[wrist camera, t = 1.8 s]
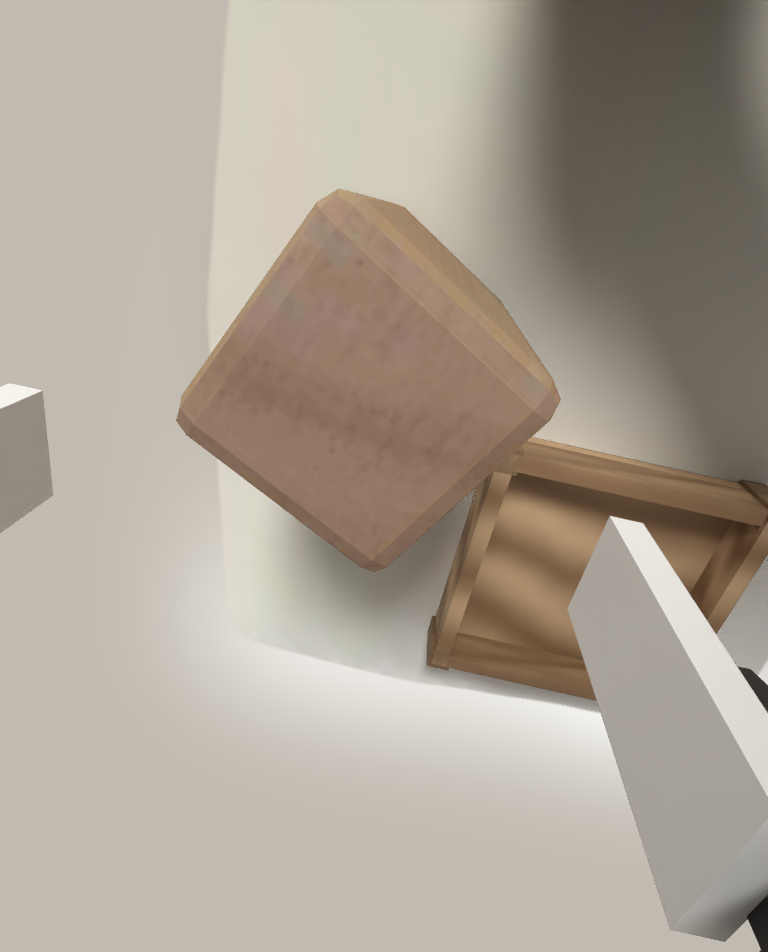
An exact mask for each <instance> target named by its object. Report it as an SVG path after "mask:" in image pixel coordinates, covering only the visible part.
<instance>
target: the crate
mask: <svg viewBox="0 0 768 952" xmlns="http://www.w3.org/2000/svg"><path fill="white" fill-rule="evenodd" d="M610 516H613V517H617V518H622V519H626V520H631V521H635V522H640V523H643V524H644V526H645V527H646V529H647V530H648V532H649V533H650V535H651V536H652V538H653V539H654V541H655V542H656V544H657V545H658V547H659V548H660V550H661V551H662V553H663V554H664V556H665V558H666V559H667V561H668V562H669V564H670V565H671V567H672V568H673V570H674V571H675V573H676V574H677V576H678V577H679V579H680V580H681V582H682V583H683V585H684V586H685V588H686V589H687V591H688V593H689V594H690V596H691V597H692V599H693V600H694V602H695V603H696V605H697V606H698V608H699V609H700V611H701V612H702V614H703V615H704V617H705V618H706V620H707V621H708V623H709V624H710V626H711V628H712V629H713V631H714V632H715V634H717V632H718V631H719V629H720V628H721V626H722V624H723V623H724V621H725V620H726V618H727V617H728V615H729V614H730V612H731V611H732V609H733V607H734V606H735V604H736V603H737V601H738V600H739V598H740V597H741V595H742V593H743V592H744V590H745V589H746V587H747V586H748V584H749V583H750V581H751V580H752V578H753V576H754V575H755V573H756V572H757V570H758V569H759V567H760V566H761V564H762V562H763V561H764V559H765V558H766V556H767V555H768V487H767V486H766V485H763V484H758V483H754V482H749V481H745V480H741V481H740V483H736V482H731V481H727V480H722V479H718V478H713V477H709V476H704V475H700V474H695V473H691V472H686V471H682V470H677V469H673V468H668V467H664V466H659V465H655V464H650V463H646V462H641V461H637V460H632V459H628V458H623V457H619V456H614V455H610V454H605V453H601V452H596V451H592V450H587V449H583V448H578V447H574V446H569V445H565V444H560V443H556V442H551V441H547V440H542V439H538V438H533V437H531V438H530V439H529V440H528V441H526V442H525V443H524V444H523V445H522V446H521V447H520V448H519V449H518V450H516V451H515V452H514V453H513V454H512V455H511V456H510V457H509V458H508V459H506V460H505V461H504V462H503V463H502V464H501V465H500V466H499V467H498V468H496V469H495V470H494V471H493V472H492V473H491V474H490V475H489V476H488V477H486V478H485V479H484V480H483V481H482V482H481V483H480V484H479V485H478V486H477V489H476V492H475V495H474V498H473V501H472V504H471V508H470V511H469V514H468V517H467V520H466V523H465V527H464V530H463V533H462V536H461V539H460V542H459V546H458V549H457V552H456V555H455V558H454V561H453V565H452V568H451V571H450V574H449V577H448V580H447V584H446V587H445V590H444V593H443V596H442V600H441V603H440V606H439V609H438V612H437V615H436V616H433V617H432V620H431V623H430V626H429V629H428V644H427V666H432V667H436V668H441V669H445V670H448V669H449V668H453V669H458V670H462V671H466V672H471V673H475V674H480V675H484V676H489V677H493V678H498V679H502V680H507V681H511V682H516V683H520V684H525V685H529V686H533V687H538V688H542V689H547V690H551V691H556V692H560V693H565V694H569V695H574V696H578V697H583V698H587V699H592V700H596V697H595V694H594V690H593V687H592V684H591V681H590V678H589V675H588V672H587V669H586V665H585V662H584V659H583V656H582V653H581V650H580V647H579V644H578V641H577V637H576V634H575V631H574V628H573V625H572V622H571V619H570V616H569V612H568V609H567V608H568V606H569V604H570V602H571V600H572V598H573V595H574V593H575V591H576V589H577V587H578V584H579V582H580V580H581V578H582V576H583V573H584V571H585V569H586V567H587V565H588V562H589V560H590V558H591V556H592V554H593V552H594V549H595V547H596V545H597V543H598V541H599V538H600V536H601V534H602V532H603V530H604V527H605V525H606V523H607V521H608V519H609V517H610ZM596 701H597V700H596Z"/></svg>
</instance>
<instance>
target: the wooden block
mask: <svg viewBox="0 0 768 952" xmlns="http://www.w3.org/2000/svg"><path fill="white" fill-rule="evenodd" d="M560 400H561V399H560V397H559V394H558V391H557V389H556V386H555V383H554V381H553V378H552V377H551V376H550V374H549V373H548V371H547V370H546V368H545V367H544V365H543V364H542V362H541V361H540V359H539V358H538V356H537V355H536V353H535V352H534V350H533V349H532V347H531V346H530V344H529V343H528V341H527V340H526V338H525V337H524V335H523V334H522V332H521V331H520V329H519V328H518V326H517V325H516V324H515V322H514V321H513V319H512V318H511V316H510V315H509V313H508V312H507V310H506V309H505V307H504V306H503V304H502V303H501V301H500V300H499V299H498V298H497V297H496V296H495V295H494V294H493V293H492V292H491V291H490V290H489V289H488V288H487V287H486V286H485V285H484V284H483V283H482V282H481V281H480V280H479V279H478V278H477V277H476V276H474V275H473V274H472V273H471V272H470V271H469V270H468V269H467V268H466V267H465V266H464V265H463V264H462V263H461V262H460V261H459V260H458V259H457V258H456V257H455V256H454V255H453V254H452V253H451V252H450V251H449V250H448V249H447V248H446V247H445V246H444V245H443V244H442V243H441V242H440V241H439V240H438V239H437V238H436V237H435V236H433V235H432V234H431V233H430V232H429V231H428V230H427V229H426V228H425V227H424V226H423V225H422V224H421V223H420V222H419V221H418V220H417V219H416V218H415V217H414V216H413V215H412V214H411V213H410V212H409V211H408V210H407V209H406V208H405V207H402V206H400V205H397V204H394V203H391V202H387V201H384V200H380V199H376V198H372V197H368V196H365V195H361V194H357V193H353V192H350V191H346V190H342V189H338V190H336V191H335V192H333V193H331V194H330V195H328V196H326V197H325V198H323V199H321V200H320V201H318V202H317V203H316V204H315V205H314V207H313V208H312V210H311V211H310V213H309V214H308V215H307V217H306V218H305V220H304V221H303V223H302V224H301V225H300V227H299V228H298V230H297V231H296V233H295V234H294V236H293V237H292V238H291V240H290V241H289V243H288V244H287V246H286V247H285V248H284V250H283V251H282V253H281V254H280V256H279V257H278V258H277V260H276V261H275V263H274V264H273V266H272V267H271V268H270V270H269V271H268V273H267V274H266V276H265V277H264V279H263V280H262V281H261V283H260V284H259V286H258V287H257V289H256V290H255V291H254V293H253V294H252V296H251V297H250V299H249V300H248V301H247V303H246V304H245V306H244V307H243V309H242V310H241V311H240V313H239V314H238V316H237V317H236V319H235V320H234V321H233V323H232V324H231V326H230V327H229V329H228V330H227V332H226V333H225V334H224V336H223V337H222V339H221V340H220V342H219V343H218V344H217V346H216V347H215V349H214V350H213V352H212V353H211V354H210V356H209V357H208V359H207V360H206V362H205V363H204V365H203V366H202V367H201V369H200V370H199V372H198V373H197V375H196V376H195V377H194V379H193V380H192V382H191V383H190V385H189V386H188V387H187V389H186V390H185V392H184V393H183V395H182V396H181V403H180V408H179V412H178V416H177V419H176V421H177V422H178V424H179V425H180V427H181V428H182V429H183V430H184V432H185V433H186V435H187V436H189V437H190V438H191V439H193V440H194V441H195V442H197V443H198V444H199V445H201V446H202V447H203V448H204V449H206V450H207V451H208V452H210V453H211V454H212V455H214V456H215V457H216V458H218V459H219V460H220V461H222V462H223V463H224V464H225V465H227V466H228V467H229V468H231V469H232V470H233V471H235V472H236V473H237V474H239V475H240V476H241V477H243V478H244V479H245V480H247V481H248V482H249V483H251V484H252V485H253V486H254V487H256V488H257V489H258V490H260V491H261V492H262V493H264V494H265V495H266V496H268V497H269V498H270V499H272V500H273V501H274V502H276V503H277V504H278V505H280V506H281V507H282V508H284V509H285V510H286V511H287V512H289V513H290V514H291V515H293V516H294V517H295V518H297V519H298V520H299V521H301V522H302V523H303V524H305V525H306V526H307V527H309V528H310V529H311V530H313V531H314V532H315V533H316V534H318V535H319V536H320V537H322V538H323V539H324V540H326V541H327V542H328V543H330V544H331V545H332V546H334V547H335V548H336V549H338V550H339V551H340V552H342V553H343V554H344V555H345V556H347V557H348V558H349V559H351V560H352V561H353V562H355V563H356V564H357V565H359V566H360V567H362V568H365V569H368V570H371V571H374V572H376V571H378V570H381V569H383V568H386V567H387V566H388V565H390V564H391V563H392V562H393V561H394V560H395V559H396V558H398V557H399V556H400V555H401V554H402V553H403V552H404V551H405V550H406V549H408V548H409V547H410V546H411V545H412V544H413V543H414V542H415V541H416V540H418V539H419V538H420V537H421V536H422V535H423V534H424V533H425V532H426V531H428V530H429V529H430V528H431V527H432V526H433V525H434V524H435V523H436V522H438V521H439V520H440V519H441V518H442V517H443V516H444V515H445V514H446V513H448V512H449V511H450V510H451V509H452V508H453V507H454V506H455V505H456V504H458V503H459V502H460V501H461V500H462V499H463V498H464V497H465V496H466V495H468V494H469V493H470V492H471V491H472V490H473V489H474V488H475V487H476V486H478V485H479V484H480V483H481V482H482V481H483V480H484V479H485V478H486V477H488V476H489V475H490V474H491V473H492V472H493V471H494V470H495V469H496V468H498V467H499V466H500V465H501V464H502V463H503V462H504V461H505V460H506V459H508V458H509V457H510V456H511V455H512V454H513V453H514V452H515V451H516V450H518V449H519V448H520V447H521V446H522V445H523V444H524V443H525V442H526V441H528V440H529V439H530V438H531V437H532V436H533V435H534V434H535V433H536V432H537V431H539V430H540V429H541V428H542V427H543V426H544V425H545V424H546V423H547V422H549V421H550V419H551V417H552V415H553V414H554V412H555V410H556V408H557V406H558V405H559V402H560Z"/></svg>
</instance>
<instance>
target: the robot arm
mask: <svg viewBox="0 0 768 952" xmlns="http://www.w3.org/2000/svg"><path fill="white" fill-rule="evenodd" d="M52 495H53V489H52V479H51V469H50V459H49V450H48V440H47V430H46V421H45V411H44V401H43V391H42V390H37V389H33V388H28V387H23V386H19V385H14V384H10V383H9V384H7V385H4V386H1V387H0V533H1V532H2V531H4V530H5V529H7V528H8V527H9V526H11V525H12V524H14V523H15V522H16V521H18V520H19V519H20V518H22V517H23V516H25V515H26V514H27V513H29V512H30V511H32V510H33V509H35V508H36V507H37V506H39V505H40V504H41V503H43V502H44V501H46V500H47V499H49V498H50V497H51V496H52ZM567 609H568V612H569V616H570V619H571V622H572V625H573V628H574V631H575V634H576V637H577V641H578V644H579V647H580V650H581V653H582V656H583V659H584V662H585V665H586V669H587V672H588V675H589V678H590V681H591V684H592V687H593V690H594V694H595V697H596V700H597V703H598V706H599V709H600V712H601V715H602V718H603V722H604V725H605V728H606V731H607V734H608V737H609V740H610V743H611V746H612V750H613V752H614V756H615V759H616V762H617V765H618V768H619V771H620V775H621V778H622V781H623V784H624V787H625V790H626V793H627V797H628V800H629V803H630V806H631V809H632V812H633V815H634V818H635V821H636V825H637V828H638V831H639V834H640V837H641V840H642V843H643V846H644V849H645V853H646V856H647V859H648V862H649V865H650V868H651V871H652V875H653V878H654V881H655V884H656V887H657V890H658V893H659V896H660V899H661V903H662V906H663V909H664V912H665V915H666V918H667V921H668V924H669V928H670V930H674V931H679V932H684V933H688V934H692V935H697V936H702V937H706V938H710V939H715V940H719V941H724V942H725V941H726V940H727V939H728V938H729V937H730V936H731V935H732V934H733V933H734V932H735V931H736V930H737V929H738V928H739V927H740V926H741V925H742V924H743V923H744V922H745V921H746V920H747V919H748V920H749V923H750V925H751V927H752V929H753V932H754V934H755V936H756V938H757V941H758V943H759V946H760V948H761V951H760V952H768V685H767V684H766V683H765V682H764V681H762V680H761V679H760V678H759V677H758V676H757V675H756V674H755V673H754V672H753V671H752V670H751V669H746V668H742V667H737V666H736V664H735V663H734V661H733V659H732V658H731V656H730V655H729V653H728V652H727V650H726V649H725V647H724V646H723V644H722V643H721V641H720V640H719V638H718V637H717V635H716V634H715V632H714V631H713V629H712V628H711V626H710V624H709V623H708V621H707V620H706V618H705V617H704V615H703V614H702V612H701V611H700V609H699V608H698V606H697V605H696V603H695V602H694V600H693V599H692V597H691V596H690V594H689V593H688V591H687V589H686V588H685V586H684V585H683V583H682V582H681V580H680V579H679V577H678V576H677V574H676V573H675V571H674V570H673V568H672V567H671V565H670V564H669V562H668V561H667V559H666V558H665V556H664V554H663V553H662V551H661V550H660V548H659V547H658V545H657V544H656V542H655V541H654V539H653V538H652V536H651V535H650V533H649V532H648V530H647V529H646V527H645V526H644V524H643V523H640V522H635V521H631V520H626V519H622V518H617V517H613V516H610V517H609V519H608V521H607V523H606V525H605V527H604V530H603V532H602V534H601V536H600V538H599V541H598V543H597V545H596V547H595V549H594V552H593V554H592V556H591V558H590V560H589V562H588V565H587V567H586V569H585V571H584V573H583V576H582V578H581V580H580V582H579V584H578V587H577V589H576V591H575V593H574V595H573V598H572V600H571V602H570V604H569V606H568V608H567Z"/></svg>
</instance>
